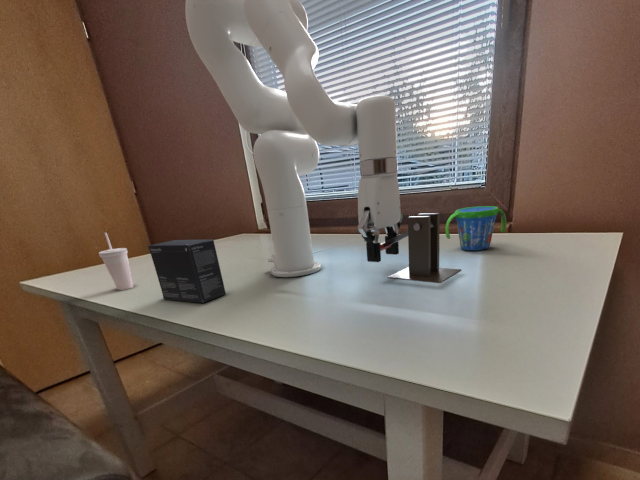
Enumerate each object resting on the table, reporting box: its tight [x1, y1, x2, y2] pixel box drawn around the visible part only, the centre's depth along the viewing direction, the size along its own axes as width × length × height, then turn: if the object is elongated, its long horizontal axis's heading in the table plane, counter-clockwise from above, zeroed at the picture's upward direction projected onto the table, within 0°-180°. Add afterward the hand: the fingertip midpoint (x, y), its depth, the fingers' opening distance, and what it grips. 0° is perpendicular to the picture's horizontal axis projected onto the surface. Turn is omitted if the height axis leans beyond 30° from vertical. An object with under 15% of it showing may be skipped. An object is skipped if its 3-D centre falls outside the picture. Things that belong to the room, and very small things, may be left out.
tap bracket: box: [387, 212, 462, 284], centre depth 77 cm, size 12×10×13 cm
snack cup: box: [444, 205, 507, 252], centre depth 99 cm, size 16×10×10 cm
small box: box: [147, 238, 227, 304], centre depth 81 cm, size 13×7×12 cm, turn 61°
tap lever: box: [380, 215, 434, 252], centre depth 79 cm, size 13×6×2 cm, turn 53°
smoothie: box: [98, 232, 134, 291], centre depth 95 cm, size 6×6×14 cm
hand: (383, 257), depth 84 cm, fingers open, 6 cm apart
